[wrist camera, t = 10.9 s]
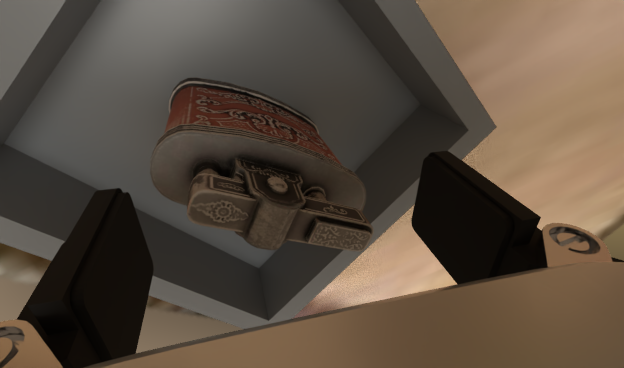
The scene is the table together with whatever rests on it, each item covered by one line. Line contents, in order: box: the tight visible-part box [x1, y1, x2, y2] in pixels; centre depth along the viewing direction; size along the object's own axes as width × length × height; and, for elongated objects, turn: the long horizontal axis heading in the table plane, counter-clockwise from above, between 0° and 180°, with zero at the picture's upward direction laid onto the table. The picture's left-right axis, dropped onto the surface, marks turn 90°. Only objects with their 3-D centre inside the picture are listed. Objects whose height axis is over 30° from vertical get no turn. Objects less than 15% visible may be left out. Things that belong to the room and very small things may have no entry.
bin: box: [0, 0, 496, 329], centre depth 17 cm, size 18×18×6 cm
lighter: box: [150, 77, 374, 251], centre depth 14 cm, size 8×3×10 cm, turn 66°
